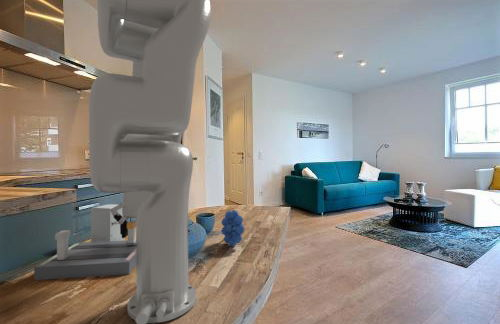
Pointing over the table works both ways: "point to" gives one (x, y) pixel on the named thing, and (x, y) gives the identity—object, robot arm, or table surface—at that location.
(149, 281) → the robot arm
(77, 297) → the table surface
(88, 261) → the switch panel
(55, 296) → the table surface
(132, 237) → the lever
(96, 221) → the supplement box
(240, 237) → the grapes
